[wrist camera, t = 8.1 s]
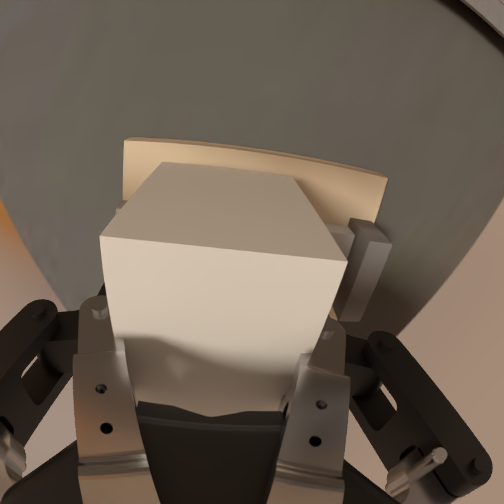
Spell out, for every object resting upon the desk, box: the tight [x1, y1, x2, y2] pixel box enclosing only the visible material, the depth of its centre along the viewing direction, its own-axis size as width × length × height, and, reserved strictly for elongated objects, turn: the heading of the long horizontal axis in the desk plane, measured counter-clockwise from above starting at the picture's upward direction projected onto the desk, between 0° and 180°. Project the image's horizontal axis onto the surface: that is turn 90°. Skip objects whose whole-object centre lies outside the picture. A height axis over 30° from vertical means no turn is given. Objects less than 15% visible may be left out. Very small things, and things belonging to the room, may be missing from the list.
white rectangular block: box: [100, 162, 348, 417], centre depth 10 cm, size 8×5×6 cm, turn 171°
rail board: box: [116, 137, 393, 322], centre depth 14 cm, size 9×12×3 cm
